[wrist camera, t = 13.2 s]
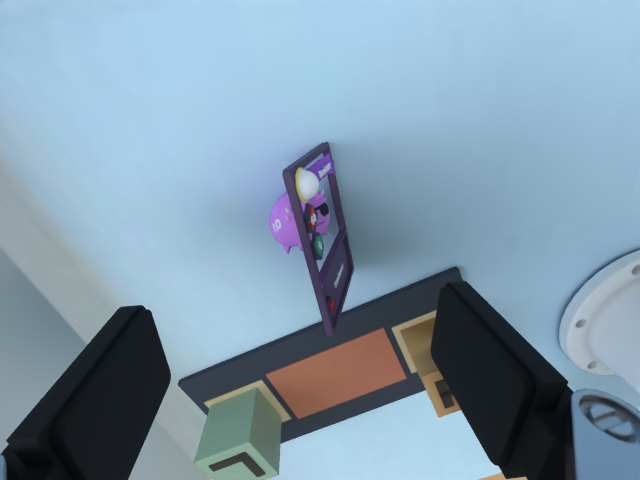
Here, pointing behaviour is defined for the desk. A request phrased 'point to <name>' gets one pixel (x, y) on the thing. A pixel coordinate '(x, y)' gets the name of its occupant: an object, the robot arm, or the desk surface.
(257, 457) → the sage letter block
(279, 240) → the purple boxed toy figure
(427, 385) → the honey letter block
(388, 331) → the word mat
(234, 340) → the desk surface
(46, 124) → the desk surface
